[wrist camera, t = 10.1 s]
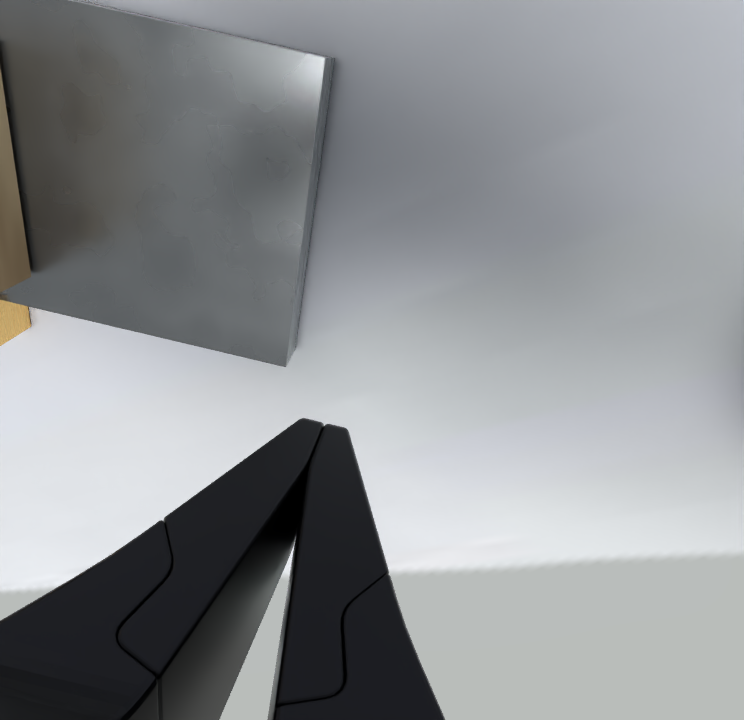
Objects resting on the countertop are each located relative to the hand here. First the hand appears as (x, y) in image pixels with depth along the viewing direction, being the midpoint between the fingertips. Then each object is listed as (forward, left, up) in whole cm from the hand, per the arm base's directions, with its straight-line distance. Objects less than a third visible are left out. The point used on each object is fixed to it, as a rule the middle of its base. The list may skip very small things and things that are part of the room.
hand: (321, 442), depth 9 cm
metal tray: (+14, 0, -12) cm, 18 cm away
